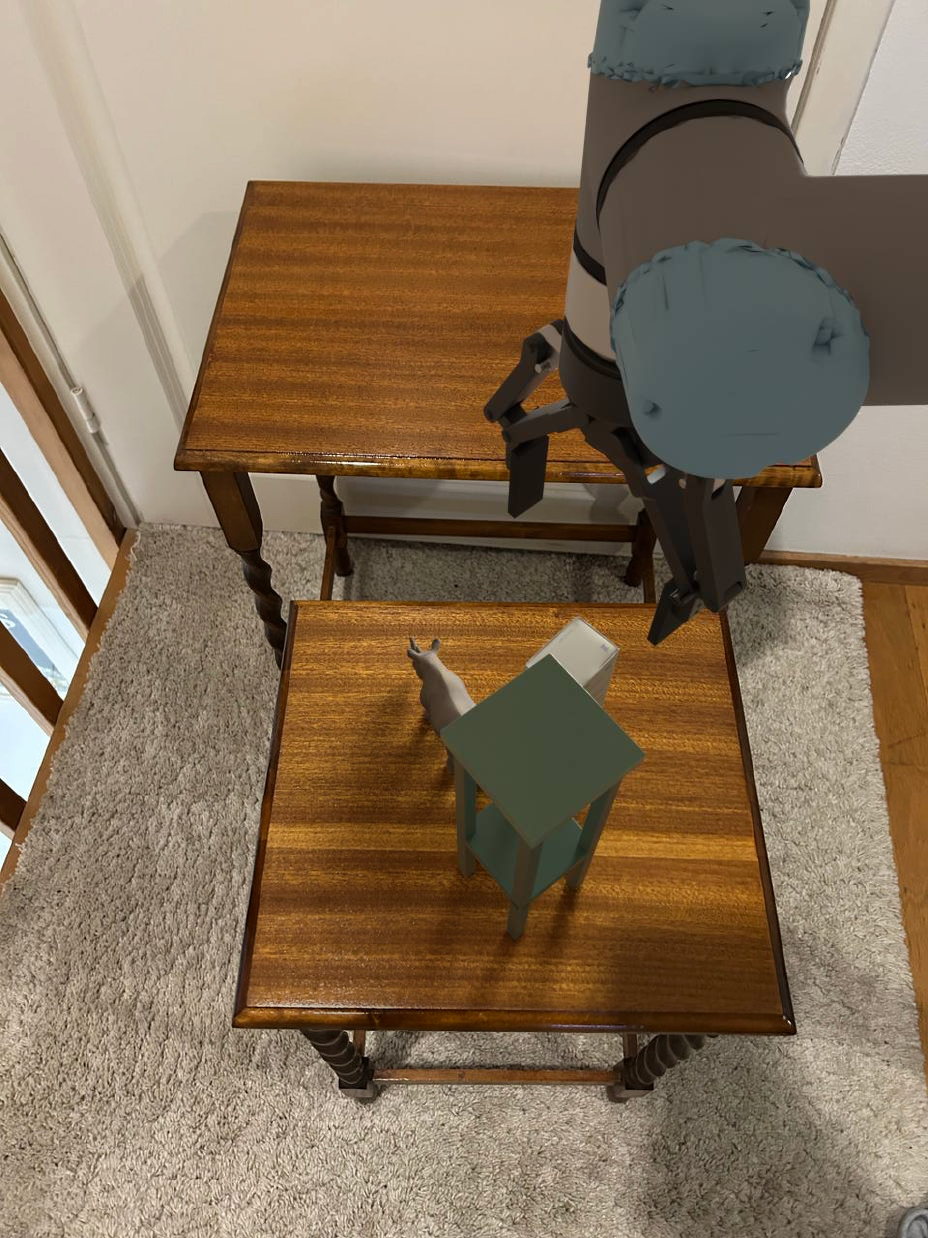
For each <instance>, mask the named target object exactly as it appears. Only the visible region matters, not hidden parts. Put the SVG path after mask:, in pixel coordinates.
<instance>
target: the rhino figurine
mask: <svg viewBox="0 0 928 1238" xmlns="http://www.w3.org/2000/svg"><path fill="white" fill-rule="evenodd" d="M409 644H410V648H407V649H406V652H407V653H406V655H407V658H409V659H411V660H412V663H411V665H412V668H413V670H414V671H415V674H416V676H417V677H418V679H419V680H422V685H421V689H420V692H419V702H420V705H421V707H422V708H424V719H425V720H427V721H428V722H430V725H431V728H432V731H433V732H434V734H435V736H436V737H437V738H438V739H439V740H441V735H440V731H441V730H442V729H444V728H445V727H446V726H448V725H449V724H451V723H452V722H453V721H455V720H456V719H458V718H459V717H461V716H462V715H463V714H465V713H466V712H468V711H469V710H470V709H472V708H473V707H475V706H476V705H477V704H476V703H475V702H474V700H473V699H472V697H471V696H470V694H469V693H468V691H467V687H466V685H465V683H464V682H463V680H462V679H461V678H460V676H459V675H457V674H456V673H455V672H453V671H451V670H449V669H448V668H447V667H446V666H445V665H444V663H443V662H442V661H441V660H440V658H439V657H438V652H439V650H440V647H441V644H442V643H441V640H440V638H438V637H436V638H434V639H433V640H432V642H431V647H430V649H428V650H424V651H423V650H422V649H421V648H420V647H419V646H418V644H417V643H416V642H415V639H414V638H413V636H412V635H410V636H409ZM444 747H445V752H446V754H447V758H446V770H447V771H449V772H451V773H453V774H454V755H453V754H452V753H451V751H450V750H449V749H448V748H447V747H446V745H445V744H444Z"/></svg>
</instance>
